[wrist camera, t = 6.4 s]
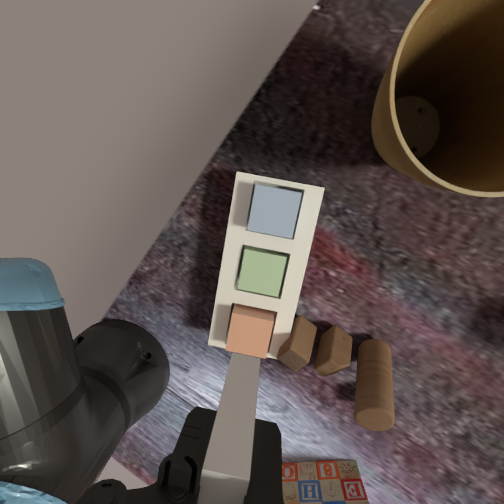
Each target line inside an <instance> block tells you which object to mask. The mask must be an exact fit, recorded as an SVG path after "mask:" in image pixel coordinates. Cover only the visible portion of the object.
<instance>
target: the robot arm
mask: <svg viewBox="0 0 504 504" xmlns="http://www.w3.org/2000/svg"><path fill="white" fill-rule="evenodd" d="M64 305H65V300H64V299H63V298H62V297H61V295H60V293H59V290H58V287H57V284H56V281H55V279H54V276H53V273H52V271H51V269H50V268H49V267H48V266H47V265H46V264H45V263H43V262H41V261H39V260H36V259H31V258H0V504H285V503H284V500H283V488H282V458H281V457H282V448H281V433H280V430H279V428H278V426H277V424H276V423H273V422H269V421H264V420H260V419H255V414H256V403H257V391H258V380H259V368H260V358H256V357H251V356H246V355H241V354H237V353H232V357H231V361H230V365H229V368H228V372H227V376H226V380H225V384H224V388H223V392H222V395H221V399H220V403H219V407H218V411H215V410H210V409H206V408H201V407H195V408H194V409H193V410H192V411H191V412H190V413H189V414H188V415H187V418H186V420H185V423H184V426H183V428H182V431H181V433H180V436H179V439H178V441H177V444H176V446H175V449H174V451H173V453H171V454H170V455H168V456H167V457H165V458H164V459H163V461H162V462H161V464H160V466H159V472H158V480H157V482H155V483H154V484H152V485H150V486H148V487H144V488H138V489H131V490H127V489H126V486H125V485H124V484H123V483H122V482H121V481H118V480H115V479H107V480H102V481H100V482H98V483H96V484H95V482H96V481H97V479H98V477H99V475H100V474H101V472H102V470H103V469H104V467H105V465H106V464H107V462H108V460H109V459H110V457H111V455H112V454H113V452H114V450H115V449H116V447H117V445H118V444H119V442H120V440H121V439H122V437H123V435H124V434H125V432H126V431H127V429H128V428H130V427H131V426H132V425H133V424H135V423H136V422H137V421H138V420H139V419H141V418H142V417H143V416H144V415H145V414H146V413H148V412H149V411H150V410H152V409H153V408H154V406H155V405H156V404H157V403H158V401H159V400H160V398H161V396H162V395H163V393H164V391H165V389H166V387H167V385H168V381H169V375H170V368H169V362H168V359H167V356H166V353H165V351H164V349H163V348H162V346H161V345H160V343H159V342H158V341H157V340H156V339H155V338H154V337H153V336H152V335H151V334H150V333H149V332H147V331H146V330H145V329H143V328H141V327H139V326H137V325H135V324H133V323H129V322H126V321H119V320H108V321H103V322H99V323H96V324H94V325H92V326H90V327H89V328H87V329H86V330H85V331H83V332H82V333H81V334H79V335H78V336H77V337H76V338H75V339H74V340H73V339H72V335H71V332H70V328H69V324H68V320H67V317H66V313H65V309H64Z"/></svg>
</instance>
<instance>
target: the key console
mask: <svg viewBox="0 0 504 504" xmlns="http://www.w3.org/2000/svg"><path fill="white" fill-rule="evenodd" d="M256 184H257V185H262V186H268V187H273V188H278V189H283V190H289V191H294V192H299V193H302V196H301V200H300V205H299V209H298V214H297V219H296V223H295V228H294V232H293V237H292V239H290V238H285V237H280V236H275V235H270V234H265V233H260V232H255V231H250V230H247V229H248V224H249V218H250V213H251V207H252V202H253V196H254V191H255V185H256ZM324 189H325V188H322V187H317V186H312V185H306V184H301V183H296V182H290V181H285V180H280V179H274V178H269V177H264V176H258V175H253V174H248V173H243V172H237V173H236V179H235V185H234V191H233V197H232V203H231V209H230V215H229V221H228V227H227V233H226V239H225V245H224V251H223V257H222V263H221V269H220V275H219V281H218V287H217V293H216V299H215V305H214V311H213V317H212V323H211V329H210V335H209V341H208V345H212V346H217V347H221V348H226V344H227V339H228V333H229V328H230V322H231V317H232V312H233V309H234V306H235V303H237V304H242V305H247V306H251V307H256V308H261V309H266V310H271V311H274V323H273V328H272V333H271V337H270V342H269V346H268V351H267V355H266V357H268V358H273V359H277V354H278V351H279V348H280V347H281V346H282V344H283V343H284V342H285V341H286V340H287V339H288V338H289V337H290V333H291V329H292V324H293V320H294V316H295V312H296V307H297V303H298V299H299V295H300V290H301V286H302V282H303V278H304V273H305V269H306V265H307V261H308V257H309V252H310V248H311V244H312V240H313V235H314V231H315V227H316V223H317V218H318V214H319V210H320V206H321V201H322V197H323V193H324ZM247 245H248V246H253V247H258V248H263V249H269V250H274V251H279V252H284V253H286V256H287V259H286V263H285V268H284V273H283V277H282V282H281V286H280V291H279V295H278V297H275V296H271V295H266V294H261V293H256V292H251V291H246V290H241V289H238V283H239V278H240V272H241V267H242V261H243V256H244V250H245V248H246V246H247Z"/></svg>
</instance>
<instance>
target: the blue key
mask: <svg viewBox="0 0 504 504" xmlns="http://www.w3.org/2000/svg"><path fill="white" fill-rule="evenodd" d="M301 196H302V193H299V192H294V191H289V190H283V189H278V188H273V187H268V186H262V185H257V184H256V185H255V191H254V196H253V202H252V207H251V213H250V218H249V224H248V229H247V230H250V231H255V232H260V233H265V234H270V235H275V236H280V237H285V238H290V239H292V237H293V232H294V228H295V223H296V219H297V214H298V209H299V205H300V200H301Z"/></svg>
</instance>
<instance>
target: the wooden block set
mask: <svg viewBox="0 0 504 504" xmlns="http://www.w3.org/2000/svg"><path fill="white" fill-rule="evenodd" d="M316 331H317V327H316V326H315V325H313V324H312V323H311V322H309V321H308V320H307V319H306V318H304V317H303V316H302V315H299V316H298V317H297V318H296V319H294V320H293V324H292V329H291V333H290V337H289V338H288V339H287V340H286V341H285V342H284V343H283V344H282V346H281V347H280V348H279V351H278V354H277V359H278V360H279V361H281V362H282V363H283V364H285V365H286V366H287V367H288V368H290V369H291V370H292V371H294V372H295V371H297V370H299V369H300V368H302V367H303V366H305V365H306V364H308V363H309V361H310V357H311V353H312V348H313V344H314V340H315V336H316ZM351 350H352V337H351V336H350V335H348V334H347V333H346V332H344V331H343V330H342V329H341V328H339V327H338V326H337V325H334V326H333V327H331V328H330V329H329V330H327V331H326V332H324V333H323V334H322V335H321V338H320V343H319V348H318V352H317V357H316V362H315V366H314V369H315V370H316V371H317V372H318V373H319V374H321V375H322V376H328V375H332V374H335V373H337V372H339V371H340V370H342V369H344V368H346V367H347V366H349V365H350V360H351ZM354 418H355V420H356V422H357V423H358V424H359V425H360V426H362V427H364V428H366V429H369V430H373V431H384V430H388V429H390V428H391V427H392V426H393V425H394V421H395V416H394V398H393V380H392V362H391V349H390V347H389V345H388V344H387V343H386V342H384V341H382V340H379V339H369V340H366V341H363V342H362V343H361V344H360V346H359V348H358V360H357V376H356V391H355V406H354Z"/></svg>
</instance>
